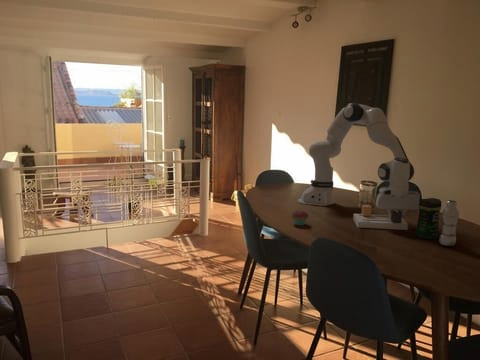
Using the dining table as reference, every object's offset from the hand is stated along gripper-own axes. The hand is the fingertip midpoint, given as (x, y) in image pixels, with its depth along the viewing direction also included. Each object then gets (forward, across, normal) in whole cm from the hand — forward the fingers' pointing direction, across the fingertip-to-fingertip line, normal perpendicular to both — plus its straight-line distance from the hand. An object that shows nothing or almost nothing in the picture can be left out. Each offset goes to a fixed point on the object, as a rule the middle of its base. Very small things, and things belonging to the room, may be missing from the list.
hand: (396, 217), depth 200 cm
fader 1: (+2, +13, -9) cm, 16 cm away
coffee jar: (+5, -11, +14) cm, 18 cm away
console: (+5, +7, -4) cm, 10 cm away
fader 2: (+2, 0, 0) cm, 2 cm away
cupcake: (+5, +48, +4) cm, 48 cm away
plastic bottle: (+5, -16, +24) cm, 30 cm away
